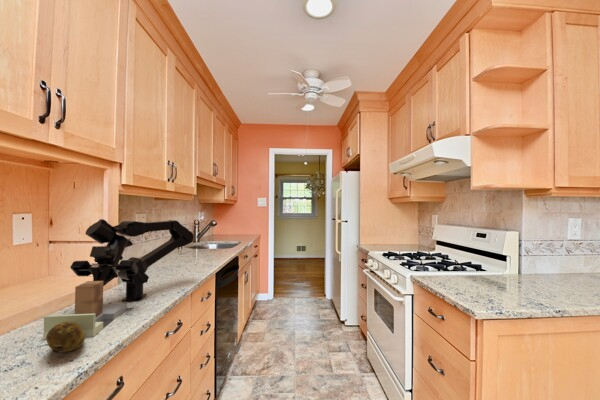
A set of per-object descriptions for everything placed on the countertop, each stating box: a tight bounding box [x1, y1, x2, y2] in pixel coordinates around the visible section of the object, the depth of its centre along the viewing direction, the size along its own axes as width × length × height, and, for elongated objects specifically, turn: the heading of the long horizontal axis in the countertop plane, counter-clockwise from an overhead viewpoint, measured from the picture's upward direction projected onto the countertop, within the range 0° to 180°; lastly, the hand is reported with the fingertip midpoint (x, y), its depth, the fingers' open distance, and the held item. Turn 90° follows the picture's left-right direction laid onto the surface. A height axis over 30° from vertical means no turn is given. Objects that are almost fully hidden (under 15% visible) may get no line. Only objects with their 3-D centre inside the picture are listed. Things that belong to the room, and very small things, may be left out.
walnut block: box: [74, 280, 104, 317], centre depth 84 cm, size 6×4×10 cm
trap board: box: [43, 302, 128, 341], centre depth 84 cm, size 20×12×6 cm, turn 9°
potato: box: [45, 322, 86, 354], centre depth 68 cm, size 8×13×8 cm, turn 16°
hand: (94, 291), depth 87 cm, fingers closed, pressing on walnut block
